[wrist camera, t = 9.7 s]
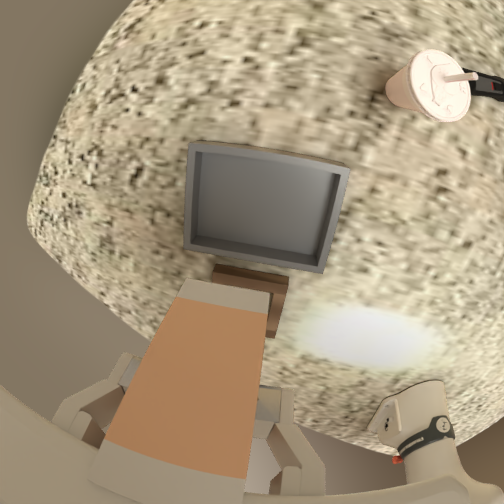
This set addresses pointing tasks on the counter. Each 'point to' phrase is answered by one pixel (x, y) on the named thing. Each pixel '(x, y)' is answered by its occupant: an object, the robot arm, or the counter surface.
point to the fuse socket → (256, 282)
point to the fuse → (190, 402)
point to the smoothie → (432, 86)
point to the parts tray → (262, 204)
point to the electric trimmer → (486, 85)
